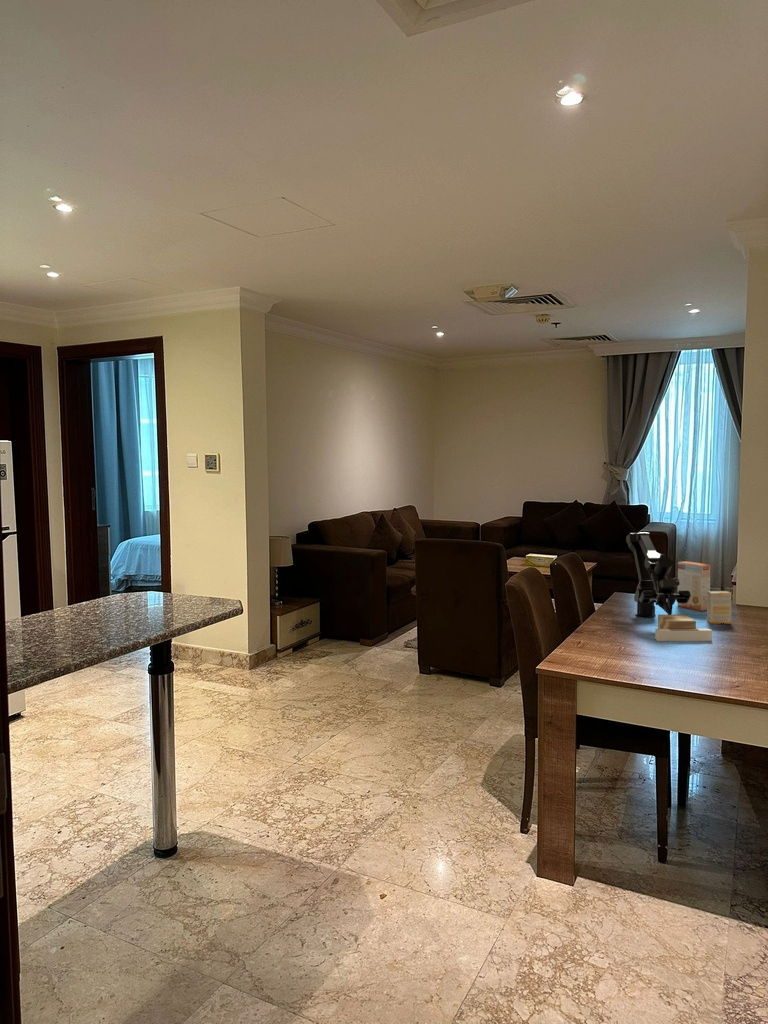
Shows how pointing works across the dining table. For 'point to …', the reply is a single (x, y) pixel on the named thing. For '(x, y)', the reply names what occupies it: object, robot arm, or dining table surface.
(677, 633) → the cream board
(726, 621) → the supplement box
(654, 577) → the robot arm
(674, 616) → the oak block
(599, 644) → the dining table surface
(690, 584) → the cracker box
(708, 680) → the dining table surface
